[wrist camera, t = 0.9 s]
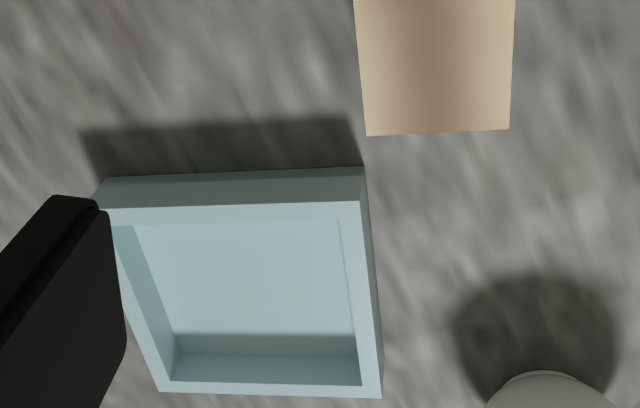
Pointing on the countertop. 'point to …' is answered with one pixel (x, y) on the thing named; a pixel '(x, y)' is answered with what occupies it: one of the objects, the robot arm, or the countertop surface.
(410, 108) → the birch block
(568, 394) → the lidded jar
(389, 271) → the countertop surface
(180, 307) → the teal tray
